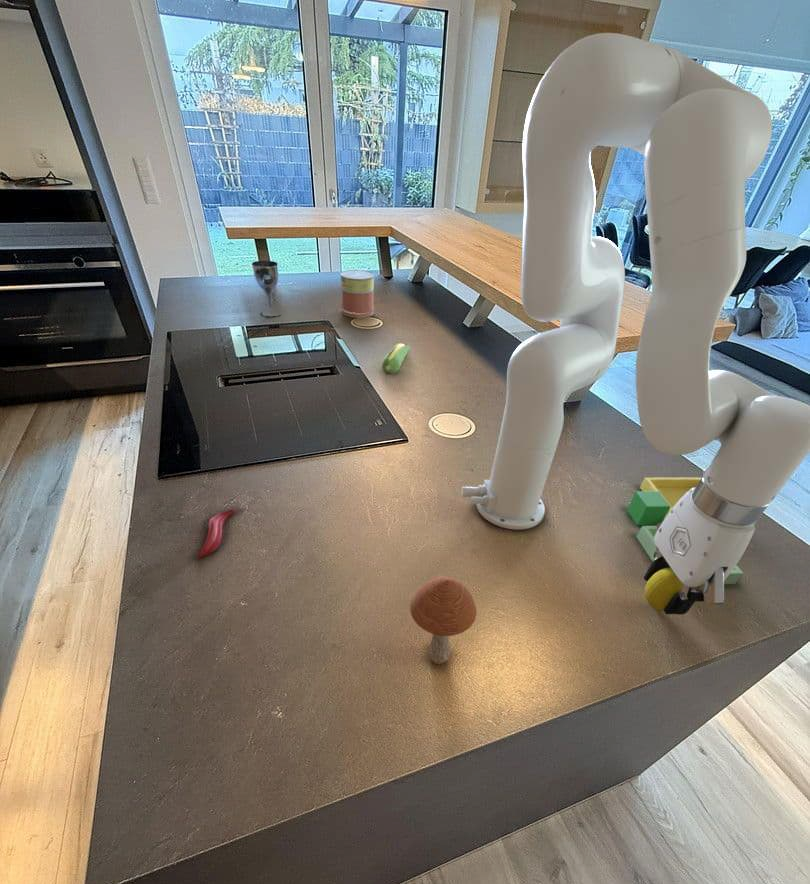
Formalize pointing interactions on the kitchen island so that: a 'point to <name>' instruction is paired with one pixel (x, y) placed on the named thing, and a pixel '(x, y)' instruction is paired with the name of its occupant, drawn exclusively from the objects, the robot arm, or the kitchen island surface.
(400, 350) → the edible corn
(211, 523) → the cayenne pepper
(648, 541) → the green tray
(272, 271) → the wine glass
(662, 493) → the yellow tray
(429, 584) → the mushroom
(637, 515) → the green cube
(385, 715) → the kitchen island surface
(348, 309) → the canned food
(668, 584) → the lemon
